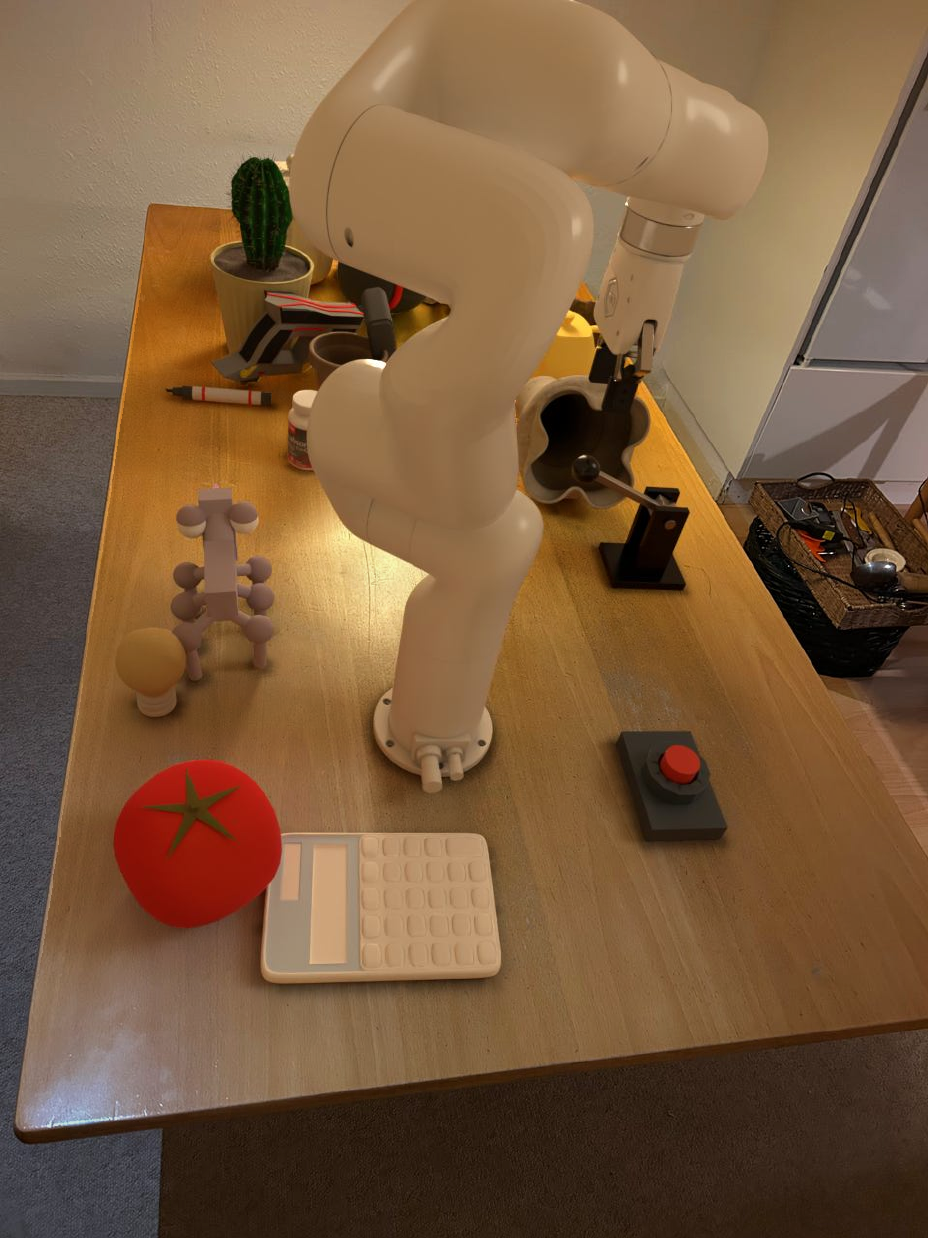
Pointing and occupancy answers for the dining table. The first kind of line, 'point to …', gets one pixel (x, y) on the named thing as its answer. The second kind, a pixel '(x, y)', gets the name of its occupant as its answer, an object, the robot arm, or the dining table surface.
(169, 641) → the light bulb
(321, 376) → the flower pot
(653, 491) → the bracket
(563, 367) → the teapot
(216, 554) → the toy insect
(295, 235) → the canister
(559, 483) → the vase
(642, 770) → the button box
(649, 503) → the lever
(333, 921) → the calculator
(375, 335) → the card reader
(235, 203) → the potted cactus
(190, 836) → the tomato
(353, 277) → the toy
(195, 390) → the marker
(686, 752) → the button
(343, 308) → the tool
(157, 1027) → the dining table surface
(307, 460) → the pill bottle
